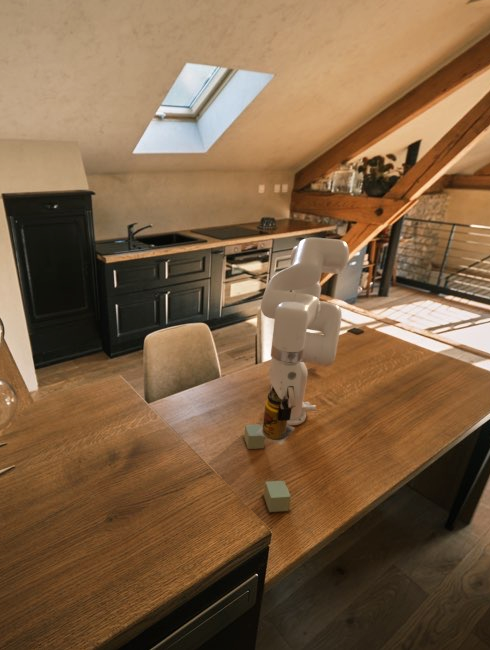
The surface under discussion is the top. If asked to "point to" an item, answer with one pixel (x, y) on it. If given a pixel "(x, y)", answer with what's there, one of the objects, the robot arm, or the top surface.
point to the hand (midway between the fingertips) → (279, 410)
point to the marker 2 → (276, 496)
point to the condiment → (274, 421)
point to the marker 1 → (253, 437)
